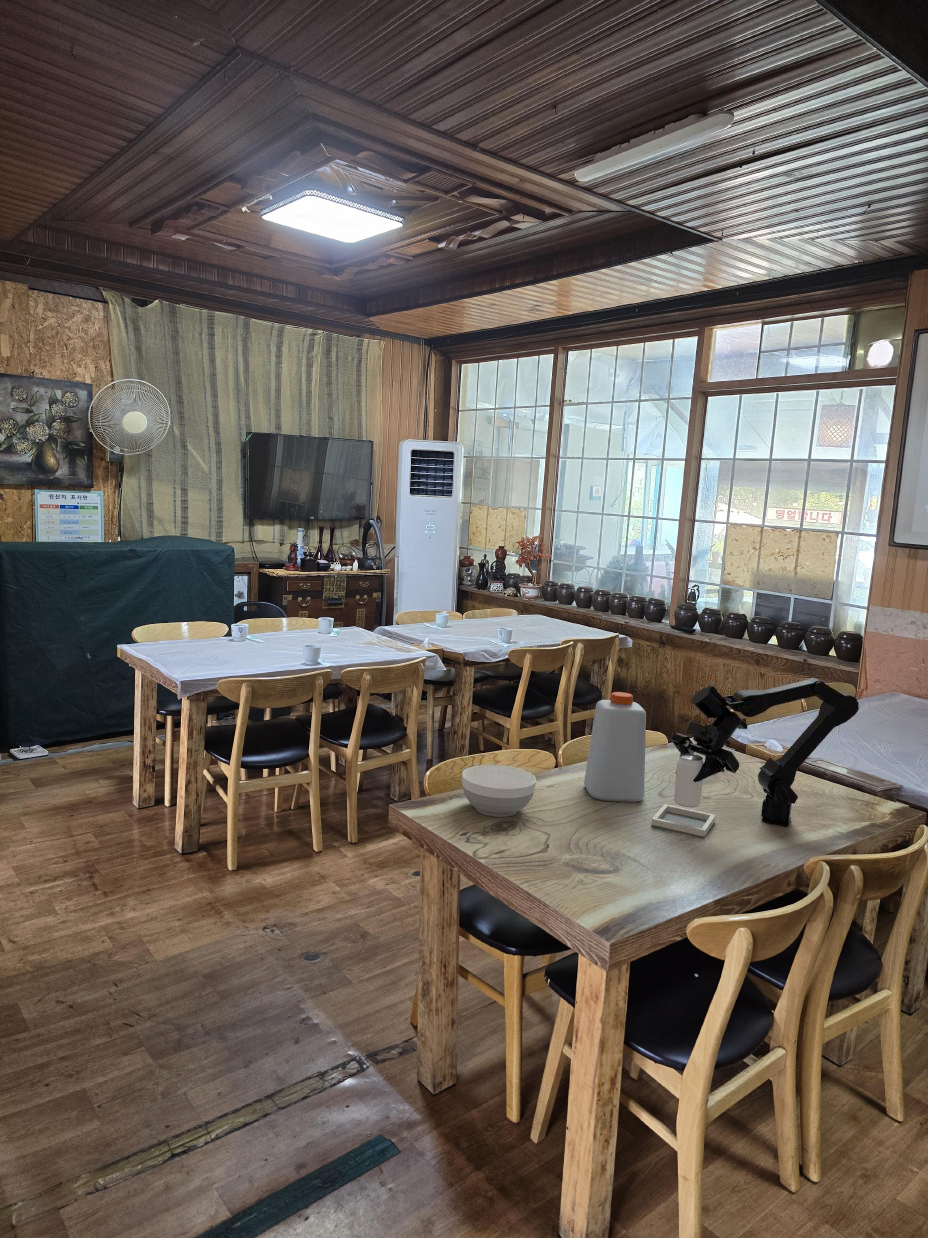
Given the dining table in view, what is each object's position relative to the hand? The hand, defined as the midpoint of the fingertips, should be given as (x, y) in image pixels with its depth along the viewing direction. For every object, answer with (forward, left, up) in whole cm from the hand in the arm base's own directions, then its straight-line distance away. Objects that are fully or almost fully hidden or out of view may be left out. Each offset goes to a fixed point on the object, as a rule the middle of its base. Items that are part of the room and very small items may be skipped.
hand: (685, 778), depth 209 cm
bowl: (+43, +18, -13) cm, 48 cm away
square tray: (0, -1, -12) cm, 12 cm away
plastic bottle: (+22, -13, -13) cm, 28 cm away
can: (-1, -1, -7) cm, 7 cm away
